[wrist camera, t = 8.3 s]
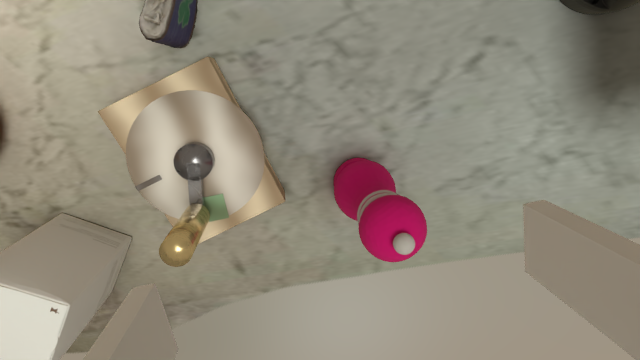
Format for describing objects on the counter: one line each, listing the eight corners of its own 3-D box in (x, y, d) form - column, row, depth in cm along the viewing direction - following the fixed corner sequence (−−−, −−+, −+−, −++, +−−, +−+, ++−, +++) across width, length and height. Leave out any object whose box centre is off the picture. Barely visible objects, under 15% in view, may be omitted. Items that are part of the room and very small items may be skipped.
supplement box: (60, 209, 46) (-39, 270, 32) (134, 236, 48) (72, 305, 33) (40, 271, 48) (-63, 356, 33) (111, 294, 50) (43, 383, 35)
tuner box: (221, 54, 43) (215, 52, 39) (291, 188, 48) (292, 198, 44) (105, 112, 43) (88, 115, 39) (187, 238, 49) (179, 253, 45)
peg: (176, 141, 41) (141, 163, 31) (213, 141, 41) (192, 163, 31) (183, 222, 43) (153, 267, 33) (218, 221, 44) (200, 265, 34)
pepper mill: (352, 217, 50) (398, 305, 31) (318, 178, 48) (344, 246, 29) (395, 183, 50) (468, 250, 30) (361, 142, 48) (417, 186, 28)
